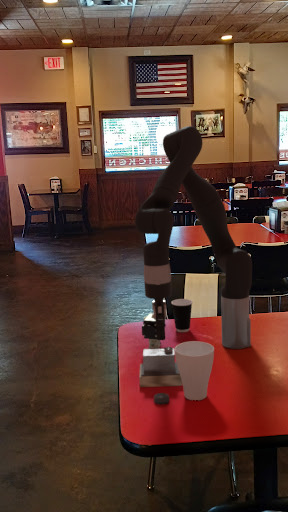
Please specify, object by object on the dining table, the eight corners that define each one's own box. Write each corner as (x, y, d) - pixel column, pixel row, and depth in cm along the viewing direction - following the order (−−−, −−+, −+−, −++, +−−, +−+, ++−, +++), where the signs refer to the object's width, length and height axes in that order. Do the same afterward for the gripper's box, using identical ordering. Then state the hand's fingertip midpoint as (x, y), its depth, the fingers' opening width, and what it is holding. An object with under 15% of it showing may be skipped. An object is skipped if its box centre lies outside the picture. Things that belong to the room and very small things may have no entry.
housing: (143, 372, 139) (142, 352, 138) (144, 365, 144) (143, 346, 143) (175, 371, 139) (174, 351, 138) (174, 364, 144) (174, 345, 143)
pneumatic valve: (165, 341, 171) (164, 308, 169) (156, 354, 160) (155, 319, 158) (150, 340, 173) (149, 308, 171) (140, 353, 162) (139, 318, 160)
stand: (180, 372, 146) (180, 361, 146) (182, 385, 137) (181, 374, 137) (140, 373, 147) (140, 362, 146) (139, 387, 138) (139, 375, 137)
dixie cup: (167, 331, 181) (166, 302, 179) (180, 325, 187) (179, 297, 185) (185, 335, 177) (184, 306, 174) (197, 328, 183) (196, 300, 180)
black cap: (171, 400, 130) (171, 394, 130) (164, 406, 127) (163, 401, 126) (159, 396, 132) (159, 391, 132) (151, 403, 129) (151, 397, 128)
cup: (175, 387, 137) (173, 341, 134) (212, 386, 136) (212, 340, 134) (176, 405, 126) (175, 356, 124) (217, 404, 126) (216, 355, 123)
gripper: (144, 274, 143) (147, 326, 146) (144, 286, 129) (148, 344, 132) (169, 272, 143) (172, 325, 146) (172, 285, 129) (175, 342, 132)
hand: (160, 334), depth 139 cm, fingers open, 8 cm apart
